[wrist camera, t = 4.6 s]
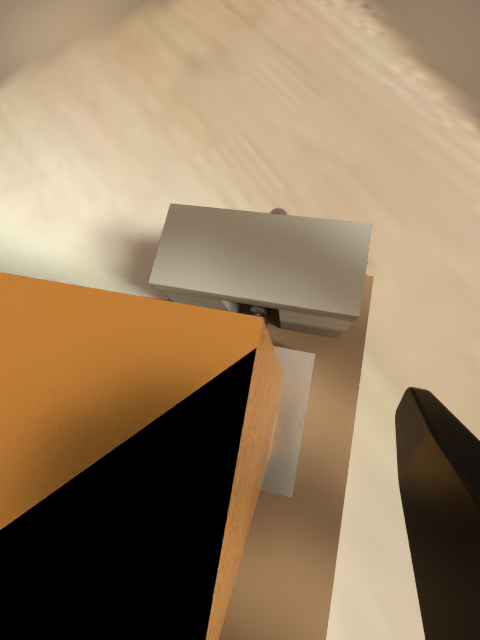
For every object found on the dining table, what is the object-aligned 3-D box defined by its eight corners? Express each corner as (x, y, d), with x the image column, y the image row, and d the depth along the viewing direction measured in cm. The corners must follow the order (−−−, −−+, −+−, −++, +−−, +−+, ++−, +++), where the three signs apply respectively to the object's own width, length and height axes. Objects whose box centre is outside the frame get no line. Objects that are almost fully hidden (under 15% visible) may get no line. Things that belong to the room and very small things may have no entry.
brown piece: (298, 777, 11) (307, 1159, 5) (85, 677, 13) (-66, 893, 7) (364, 287, 14) (410, 227, 9) (190, 263, 16) (142, 200, 11)
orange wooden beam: (291, 484, 12) (322, 1414, 1) (173, 451, 13) (-410, 771, 2) (334, 223, 14) (483, -316, 3) (229, 213, 15) (81, -228, 4)
